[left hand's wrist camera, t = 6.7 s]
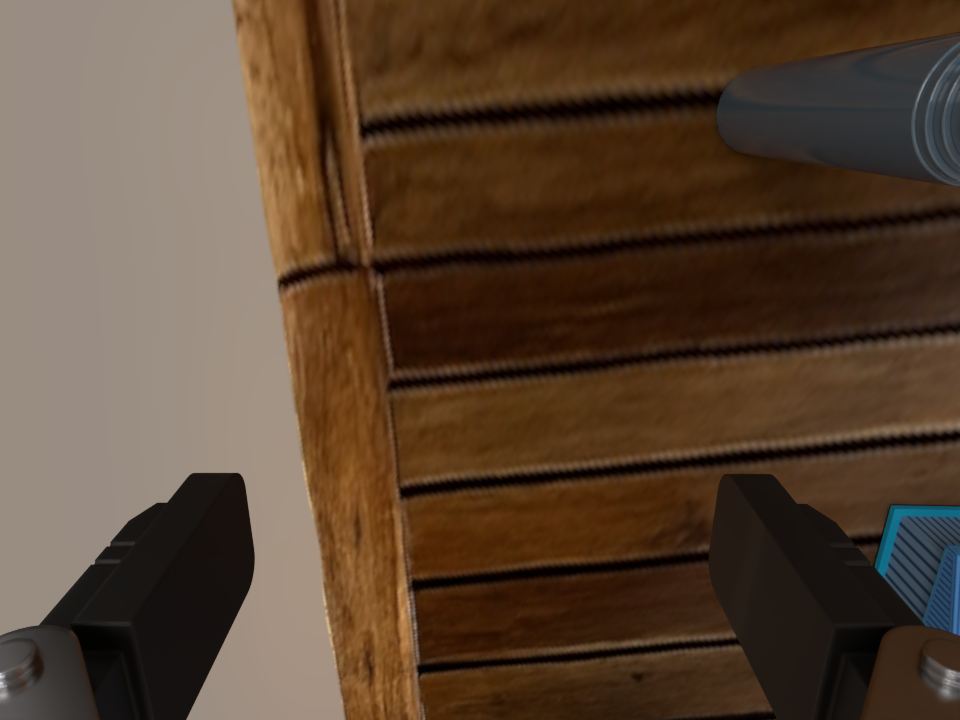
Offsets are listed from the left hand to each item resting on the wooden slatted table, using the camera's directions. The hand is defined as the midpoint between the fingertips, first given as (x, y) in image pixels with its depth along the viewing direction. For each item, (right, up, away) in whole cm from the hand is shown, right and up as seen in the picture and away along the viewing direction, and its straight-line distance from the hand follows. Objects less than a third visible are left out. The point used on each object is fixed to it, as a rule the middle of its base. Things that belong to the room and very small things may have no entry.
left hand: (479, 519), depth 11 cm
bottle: (+17, +18, +29) cm, 38 cm away
